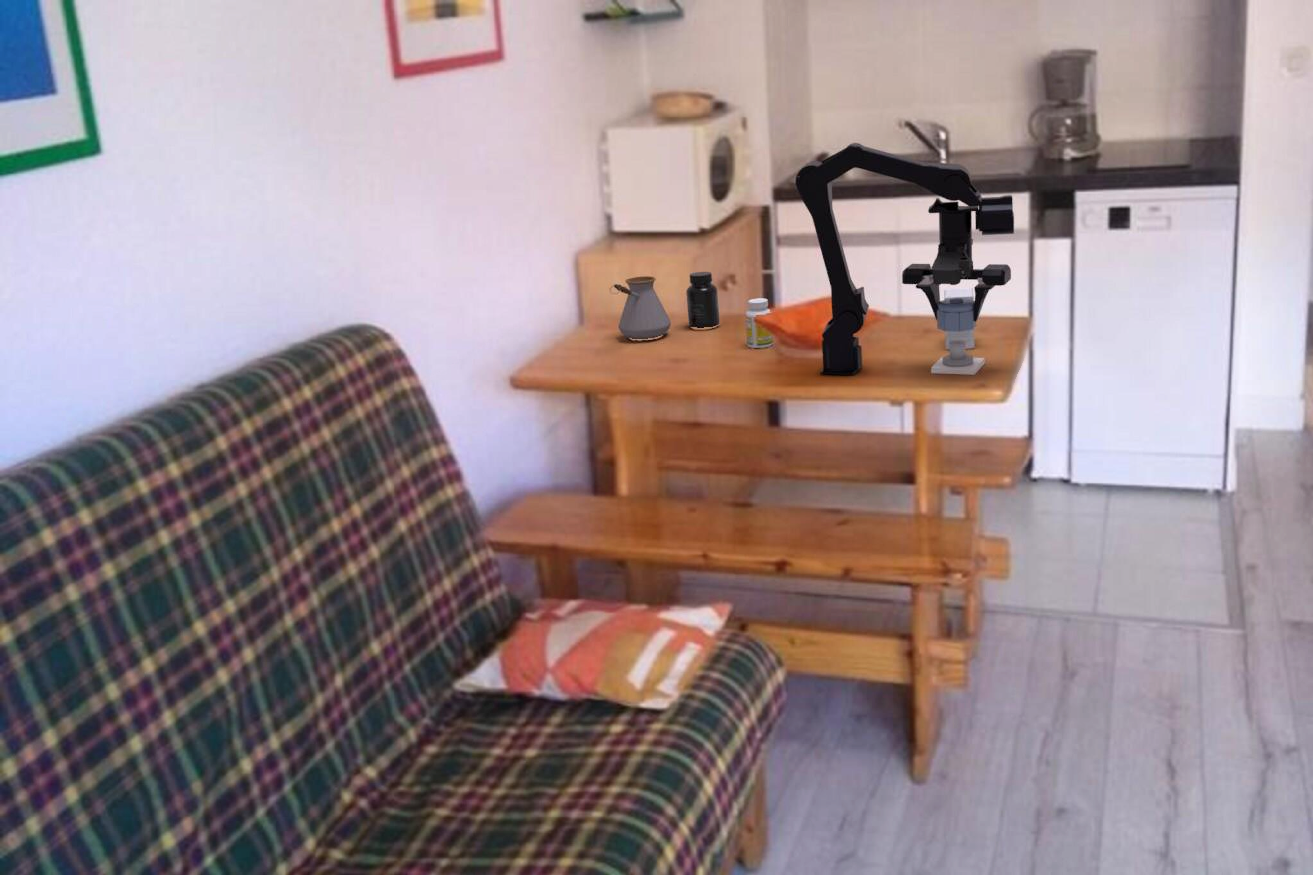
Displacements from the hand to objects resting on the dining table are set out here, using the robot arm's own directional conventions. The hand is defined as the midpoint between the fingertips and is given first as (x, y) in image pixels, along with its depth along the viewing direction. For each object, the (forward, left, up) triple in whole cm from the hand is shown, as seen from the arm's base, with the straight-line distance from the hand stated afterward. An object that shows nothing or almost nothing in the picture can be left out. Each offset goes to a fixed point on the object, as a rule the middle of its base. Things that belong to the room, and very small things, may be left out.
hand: (956, 320), depth 252 cm
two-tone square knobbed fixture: (0, 0, -9) cm, 9 cm away
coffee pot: (-72, +10, -9) cm, 73 cm away
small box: (-4, +17, -9) cm, 20 cm away
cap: (0, 0, -1) cm, 1 cm away
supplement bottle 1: (-63, +25, -9) cm, 68 cm away
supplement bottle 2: (-44, +11, -9) cm, 46 cm away
